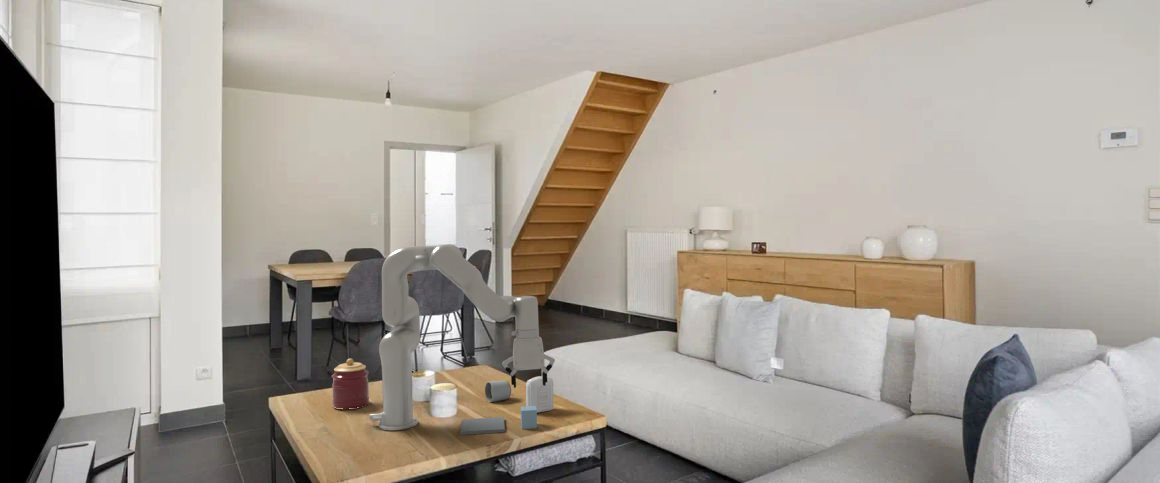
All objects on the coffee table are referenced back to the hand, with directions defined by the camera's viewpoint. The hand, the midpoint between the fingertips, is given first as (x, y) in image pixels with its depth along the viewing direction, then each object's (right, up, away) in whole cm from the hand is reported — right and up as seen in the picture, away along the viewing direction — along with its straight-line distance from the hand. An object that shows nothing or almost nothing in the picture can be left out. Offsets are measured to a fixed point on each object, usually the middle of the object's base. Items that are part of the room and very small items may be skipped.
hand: (529, 385), depth 205 cm
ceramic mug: (-15, -13, +33) cm, 39 cm away
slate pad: (-15, -14, 0) cm, 21 cm away
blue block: (0, -13, 0) cm, 13 cm away
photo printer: (+2, -13, +17) cm, 22 cm away
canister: (-69, -14, +29) cm, 76 cm away
